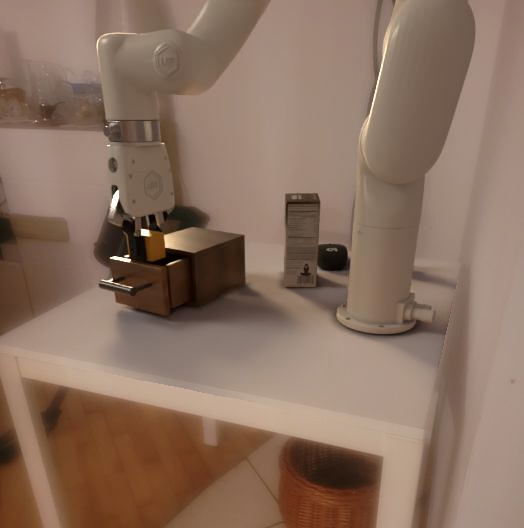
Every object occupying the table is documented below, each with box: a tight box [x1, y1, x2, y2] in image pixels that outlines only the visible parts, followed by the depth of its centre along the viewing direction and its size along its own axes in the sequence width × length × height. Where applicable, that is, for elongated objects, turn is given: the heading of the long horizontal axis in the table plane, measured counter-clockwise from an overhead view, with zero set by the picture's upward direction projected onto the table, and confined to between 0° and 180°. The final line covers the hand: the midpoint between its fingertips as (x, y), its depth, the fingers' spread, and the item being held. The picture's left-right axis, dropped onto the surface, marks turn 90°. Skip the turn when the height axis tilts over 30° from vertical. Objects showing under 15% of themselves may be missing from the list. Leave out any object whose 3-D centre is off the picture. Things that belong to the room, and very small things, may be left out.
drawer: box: [98, 252, 194, 317], centre depth 83 cm, size 18×11×8 cm, turn 148°
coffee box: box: [283, 192, 322, 288], centre depth 93 cm, size 9×6×16 cm
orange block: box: [125, 228, 166, 262], centre depth 79 cm, size 5×3×4 cm, turn 57°
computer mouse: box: [317, 242, 349, 271], centre depth 107 cm, size 8×12×4 cm, turn 179°
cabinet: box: [164, 226, 247, 308], centre depth 90 cm, size 15×13×10 cm
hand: (147, 255), depth 80 cm, fingers closed on orange block, 3 cm apart
